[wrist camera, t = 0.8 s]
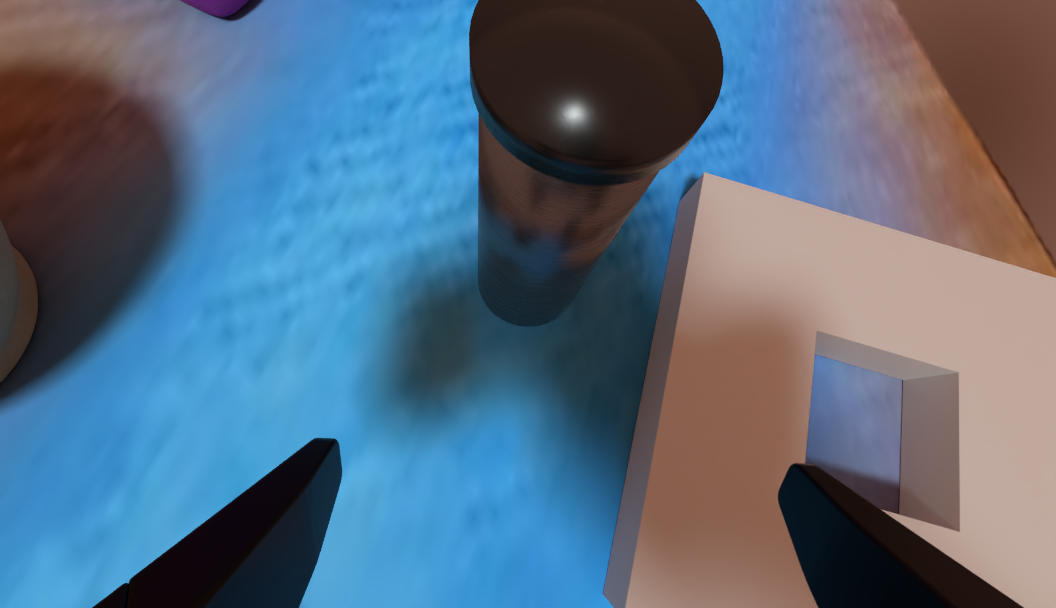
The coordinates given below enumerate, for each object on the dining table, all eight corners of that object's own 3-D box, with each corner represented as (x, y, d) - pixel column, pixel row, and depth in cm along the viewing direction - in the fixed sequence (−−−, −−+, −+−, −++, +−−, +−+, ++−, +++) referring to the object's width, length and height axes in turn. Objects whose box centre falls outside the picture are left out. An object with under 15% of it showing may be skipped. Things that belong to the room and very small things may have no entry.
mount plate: (1032, 713, 21) (1119, 756, 18) (602, 593, 20) (623, 619, 18) (1013, 301, 27) (1077, 284, 24) (679, 201, 26) (704, 172, 23)
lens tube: (564, 343, 23) (702, 192, 9) (460, 313, 23) (433, 111, 9) (588, 247, 25) (739, -10, 11) (491, 218, 25) (510, -81, 11)
